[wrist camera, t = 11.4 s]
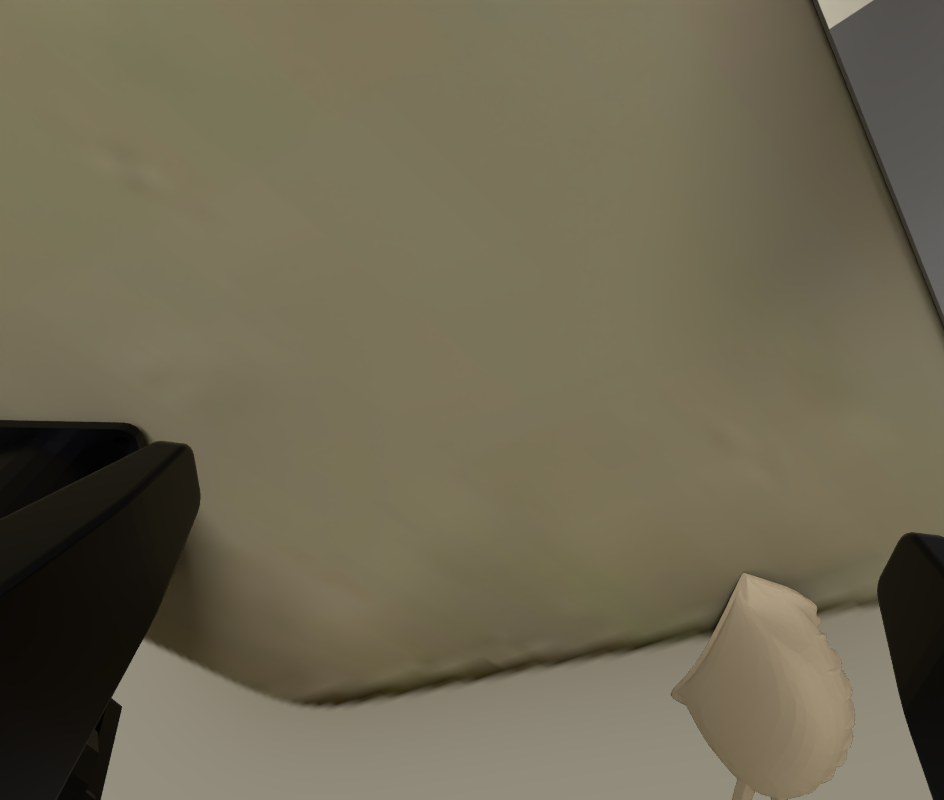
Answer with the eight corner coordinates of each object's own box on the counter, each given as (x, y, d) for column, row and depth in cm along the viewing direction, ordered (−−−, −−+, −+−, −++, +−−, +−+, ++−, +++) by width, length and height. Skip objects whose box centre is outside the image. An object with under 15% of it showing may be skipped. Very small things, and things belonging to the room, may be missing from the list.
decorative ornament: (847, 592, 26) (926, 721, 22) (741, 736, 30) (788, 872, 26) (745, 567, 26) (803, 693, 21) (650, 716, 30) (681, 851, 25)
